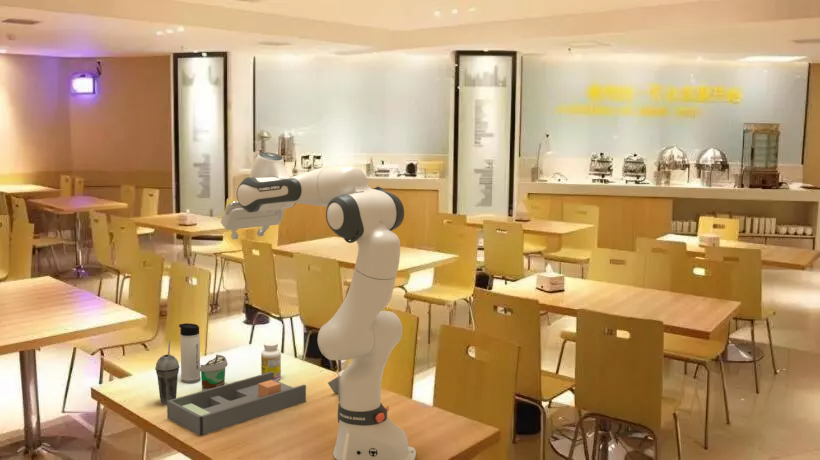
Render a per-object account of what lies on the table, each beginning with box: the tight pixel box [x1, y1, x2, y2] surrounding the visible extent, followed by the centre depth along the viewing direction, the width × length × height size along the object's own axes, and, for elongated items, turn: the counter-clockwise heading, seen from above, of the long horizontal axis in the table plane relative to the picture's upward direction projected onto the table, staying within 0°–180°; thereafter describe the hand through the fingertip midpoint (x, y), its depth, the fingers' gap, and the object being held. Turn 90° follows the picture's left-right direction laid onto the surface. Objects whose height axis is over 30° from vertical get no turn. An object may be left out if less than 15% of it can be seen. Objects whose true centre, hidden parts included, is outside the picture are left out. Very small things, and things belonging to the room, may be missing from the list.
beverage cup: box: [154, 340, 180, 406], centre depth 241 cm, size 7×7×20 cm
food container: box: [200, 354, 229, 391], centre depth 255 cm, size 12×6×10 cm, turn 168°
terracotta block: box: [258, 380, 281, 397], centre depth 242 cm, size 5×5×4 cm
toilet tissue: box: [327, 369, 345, 402], centre depth 249 cm, size 9×13×9 cm
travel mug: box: [178, 322, 201, 384], centre depth 261 cm, size 6×7×20 cm
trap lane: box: [166, 372, 307, 437], centre depth 238 cm, size 38×18×6 cm, turn 137°
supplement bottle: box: [260, 341, 282, 382], centre depth 265 cm, size 7×7×13 cm
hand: (247, 236), depth 241 cm, fingers open, 8 cm apart
